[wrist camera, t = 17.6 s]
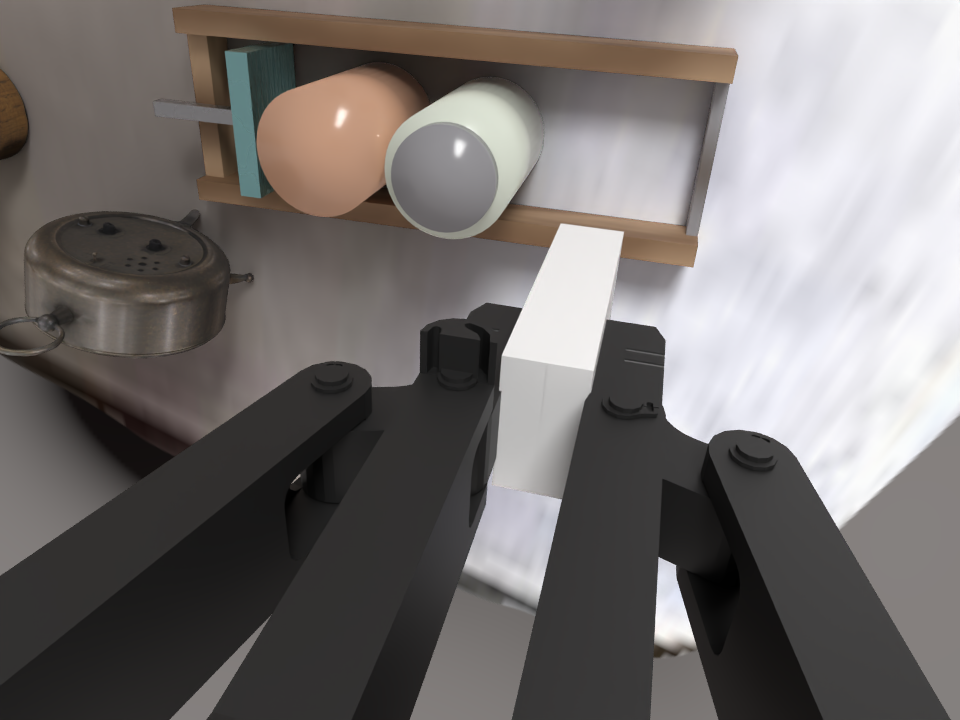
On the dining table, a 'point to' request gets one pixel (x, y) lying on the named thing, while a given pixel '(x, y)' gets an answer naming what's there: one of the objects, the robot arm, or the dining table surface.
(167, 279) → the alarm clock
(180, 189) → the dining table surface
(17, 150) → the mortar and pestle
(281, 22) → the lane
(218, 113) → the pusher
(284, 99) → the jar in lane
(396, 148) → the jar
